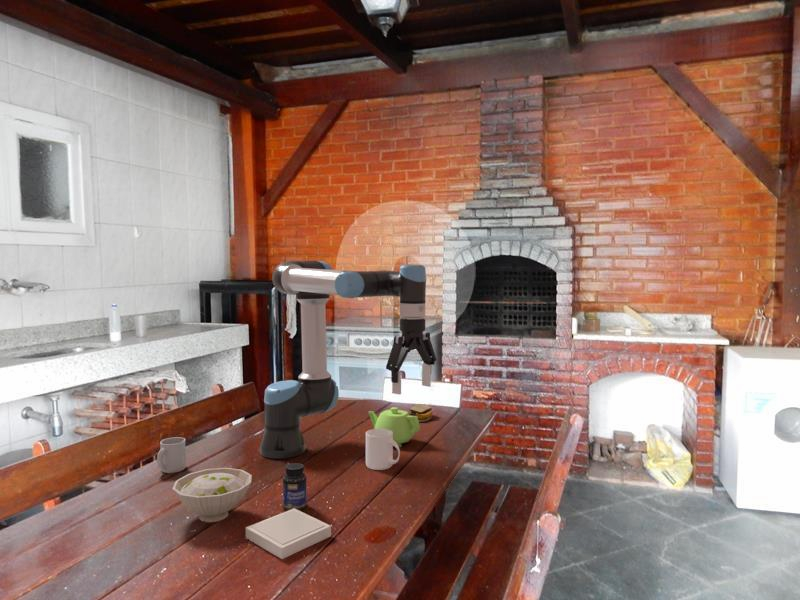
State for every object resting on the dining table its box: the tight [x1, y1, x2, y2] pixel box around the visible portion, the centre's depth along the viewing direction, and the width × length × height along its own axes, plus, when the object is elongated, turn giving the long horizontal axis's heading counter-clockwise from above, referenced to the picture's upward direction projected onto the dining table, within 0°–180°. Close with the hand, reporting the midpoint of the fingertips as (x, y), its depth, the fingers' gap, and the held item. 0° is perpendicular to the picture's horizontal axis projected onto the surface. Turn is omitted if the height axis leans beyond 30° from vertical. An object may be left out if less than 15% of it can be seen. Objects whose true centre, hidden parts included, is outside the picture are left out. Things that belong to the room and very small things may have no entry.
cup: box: [156, 436, 187, 474], centre depth 173 cm, size 7×10×9 cm
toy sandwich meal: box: [408, 403, 433, 423], centre depth 232 cm, size 12×14×5 cm
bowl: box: [171, 467, 253, 523], centre depth 142 cm, size 19×19×10 cm
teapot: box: [368, 406, 421, 448], centre depth 201 cm, size 20×13×13 cm
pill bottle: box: [282, 462, 307, 511], centre depth 148 cm, size 6×6×11 cm
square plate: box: [245, 508, 332, 560], centre depth 132 cm, size 14×14×3 cm
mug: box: [365, 428, 401, 471], centre depth 177 cm, size 9×12×11 cm
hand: (411, 389), depth 165 cm, fingers open, 13 cm apart
